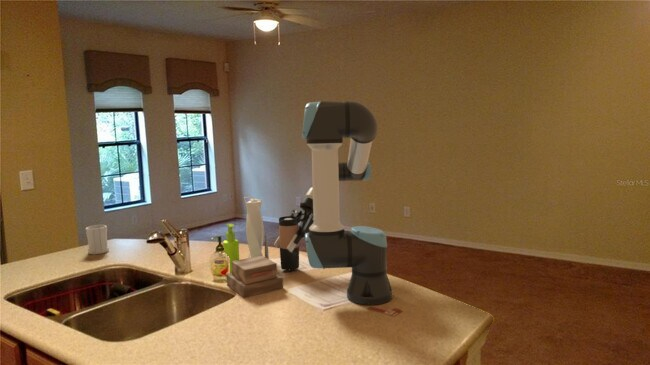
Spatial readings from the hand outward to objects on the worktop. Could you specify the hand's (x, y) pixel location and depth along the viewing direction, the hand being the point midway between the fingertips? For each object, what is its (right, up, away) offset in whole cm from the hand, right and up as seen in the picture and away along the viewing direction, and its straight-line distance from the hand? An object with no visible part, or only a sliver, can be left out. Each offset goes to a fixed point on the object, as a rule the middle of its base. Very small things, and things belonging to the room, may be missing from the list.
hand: (282, 248), depth 181 cm
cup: (-90, -7, +37) cm, 98 cm away
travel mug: (+3, -8, +3) cm, 9 cm away
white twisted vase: (-12, -8, +17) cm, 23 cm away
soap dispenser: (-19, -10, +1) cm, 22 cm away
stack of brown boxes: (-9, -12, -13) cm, 20 cm away
